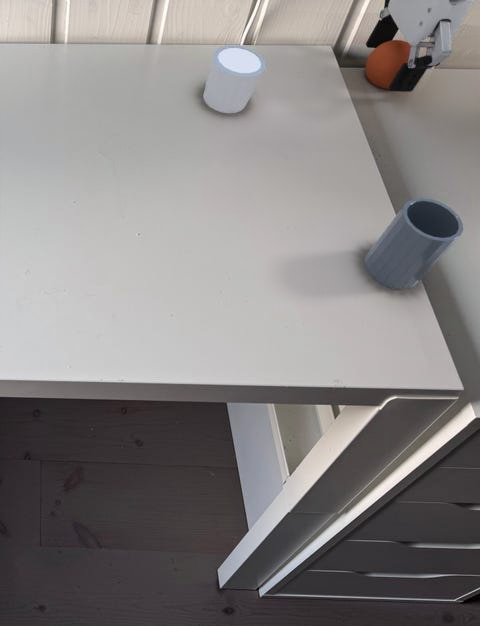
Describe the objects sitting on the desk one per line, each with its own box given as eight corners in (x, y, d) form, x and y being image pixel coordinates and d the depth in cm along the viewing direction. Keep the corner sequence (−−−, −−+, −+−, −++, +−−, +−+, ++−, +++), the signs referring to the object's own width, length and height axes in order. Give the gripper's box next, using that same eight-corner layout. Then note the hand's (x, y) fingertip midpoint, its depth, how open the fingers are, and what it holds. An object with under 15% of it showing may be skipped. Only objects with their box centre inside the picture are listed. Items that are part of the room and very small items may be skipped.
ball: (394, 71, 98) (418, 31, 93) (409, 99, 95) (436, 59, 89) (351, 69, 98) (373, 29, 93) (365, 98, 94) (389, 57, 89)
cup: (403, 253, 78) (449, 198, 71) (422, 294, 75) (473, 241, 67) (353, 252, 78) (394, 197, 70) (370, 294, 74) (415, 240, 67)
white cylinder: (254, 101, 93) (274, 56, 87) (237, 128, 90) (255, 83, 84) (208, 82, 95) (224, 37, 89) (189, 108, 91) (204, 63, 86)
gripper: (526, -16, 75) (436, 109, 90) (464, -91, 85) (392, 32, 99) (461, -19, 75) (382, 107, 89) (406, -94, 85) (342, 30, 99)
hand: (387, 67), depth 94 cm, fingers open, 9 cm apart
